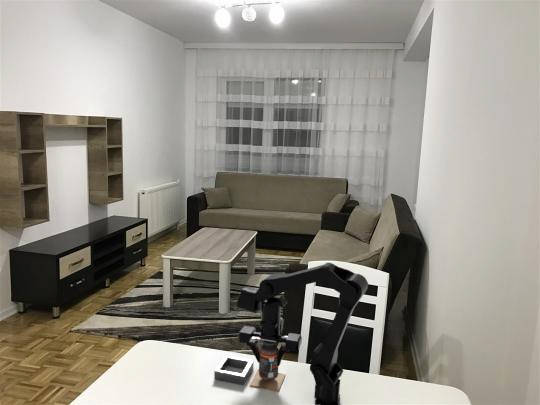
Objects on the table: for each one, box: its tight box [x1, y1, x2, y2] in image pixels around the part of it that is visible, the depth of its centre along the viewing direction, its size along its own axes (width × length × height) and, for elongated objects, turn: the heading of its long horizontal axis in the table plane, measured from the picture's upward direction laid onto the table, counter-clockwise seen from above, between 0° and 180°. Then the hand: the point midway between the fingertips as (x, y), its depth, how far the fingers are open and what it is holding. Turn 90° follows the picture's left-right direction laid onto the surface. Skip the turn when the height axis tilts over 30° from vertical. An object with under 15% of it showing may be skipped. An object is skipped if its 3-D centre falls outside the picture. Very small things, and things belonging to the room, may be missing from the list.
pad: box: [249, 368, 286, 392], centre depth 140 cm, size 9×9×1 cm
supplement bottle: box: [258, 340, 280, 380], centre depth 139 cm, size 6×6×11 cm
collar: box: [213, 354, 254, 386], centre depth 143 cm, size 10×10×3 cm
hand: (268, 363), depth 139 cm, fingers closed on supplement bottle, 6 cm apart
